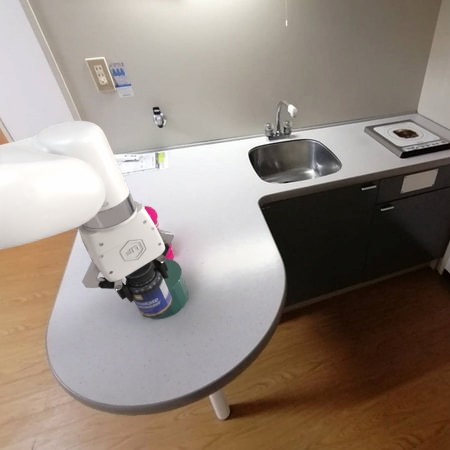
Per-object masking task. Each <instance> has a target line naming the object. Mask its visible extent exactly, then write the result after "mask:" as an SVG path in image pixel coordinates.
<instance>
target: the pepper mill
mask: <svg viewBox="0 0 450 450" xmlns="http://www.w3.org/2000/svg"><path fill="white" fill-rule="evenodd" d="M140 204H141V205H142V206H143V207H144V209H145V210H146V211H147V213H148V214H149V216H150V218H151V219H152V221H153V223H154V225H155V226H156V228H157V229H159V230H160V228H159V227H160V222H159V220H158V218H159V217H158V212H157V211H156V209H155V208H153V207H151V206H148V205H145V204H143V203H140ZM169 246H170V248H169V250H168V252H167V254H166V256H165V257H166V259H171V260H173V259H174V256H175V254H174V251H173V245H172V243H171V244H170V245H169Z"/></svg>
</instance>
